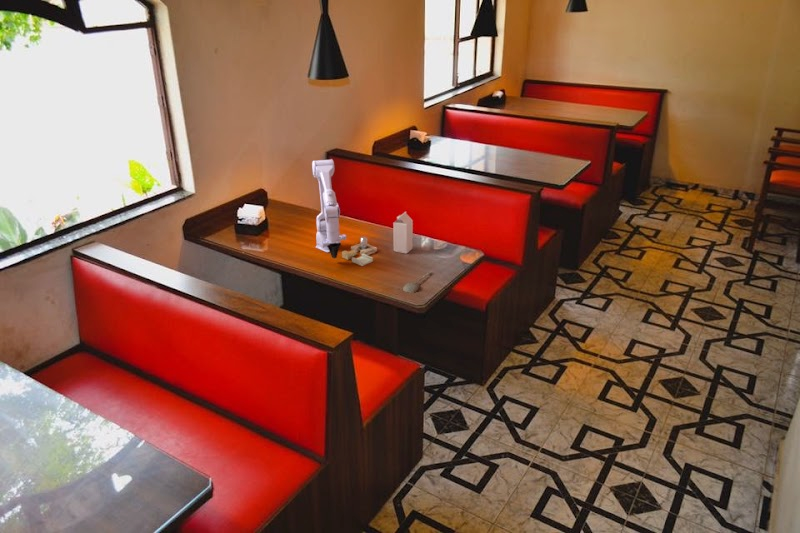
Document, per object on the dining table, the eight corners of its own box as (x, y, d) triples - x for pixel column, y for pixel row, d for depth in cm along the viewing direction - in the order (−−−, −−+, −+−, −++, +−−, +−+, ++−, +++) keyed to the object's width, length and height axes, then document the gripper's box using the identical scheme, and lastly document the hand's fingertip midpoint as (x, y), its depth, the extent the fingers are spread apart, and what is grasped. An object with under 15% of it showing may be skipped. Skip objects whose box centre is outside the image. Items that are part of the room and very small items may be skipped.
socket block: (351, 250, 308) (351, 246, 307) (363, 245, 313) (362, 242, 312) (365, 256, 302) (365, 252, 301) (377, 251, 307) (377, 247, 306)
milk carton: (412, 248, 310) (412, 212, 302) (406, 254, 304) (406, 217, 296) (399, 246, 313) (399, 210, 305) (393, 251, 307) (393, 215, 299)
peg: (359, 251, 308) (359, 237, 305) (364, 249, 310) (363, 236, 307) (363, 252, 306) (363, 239, 303) (368, 251, 308) (368, 237, 305)
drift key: (342, 257, 301) (341, 251, 299) (352, 253, 305) (352, 247, 304) (347, 259, 298) (347, 253, 297) (357, 255, 302) (357, 249, 301)
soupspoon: (400, 292, 270) (413, 297, 267) (400, 286, 269) (413, 290, 266) (425, 272, 287) (438, 276, 284) (425, 265, 285) (438, 269, 282)
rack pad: (351, 261, 296) (351, 257, 295) (362, 257, 301) (362, 253, 300) (362, 266, 292) (362, 262, 291) (372, 261, 296) (372, 257, 296)
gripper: (326, 236, 281) (327, 264, 287) (350, 228, 290) (351, 255, 296) (316, 232, 285) (318, 260, 291) (340, 224, 295) (341, 251, 301)
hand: (334, 257), depth 294 cm, fingers closed
